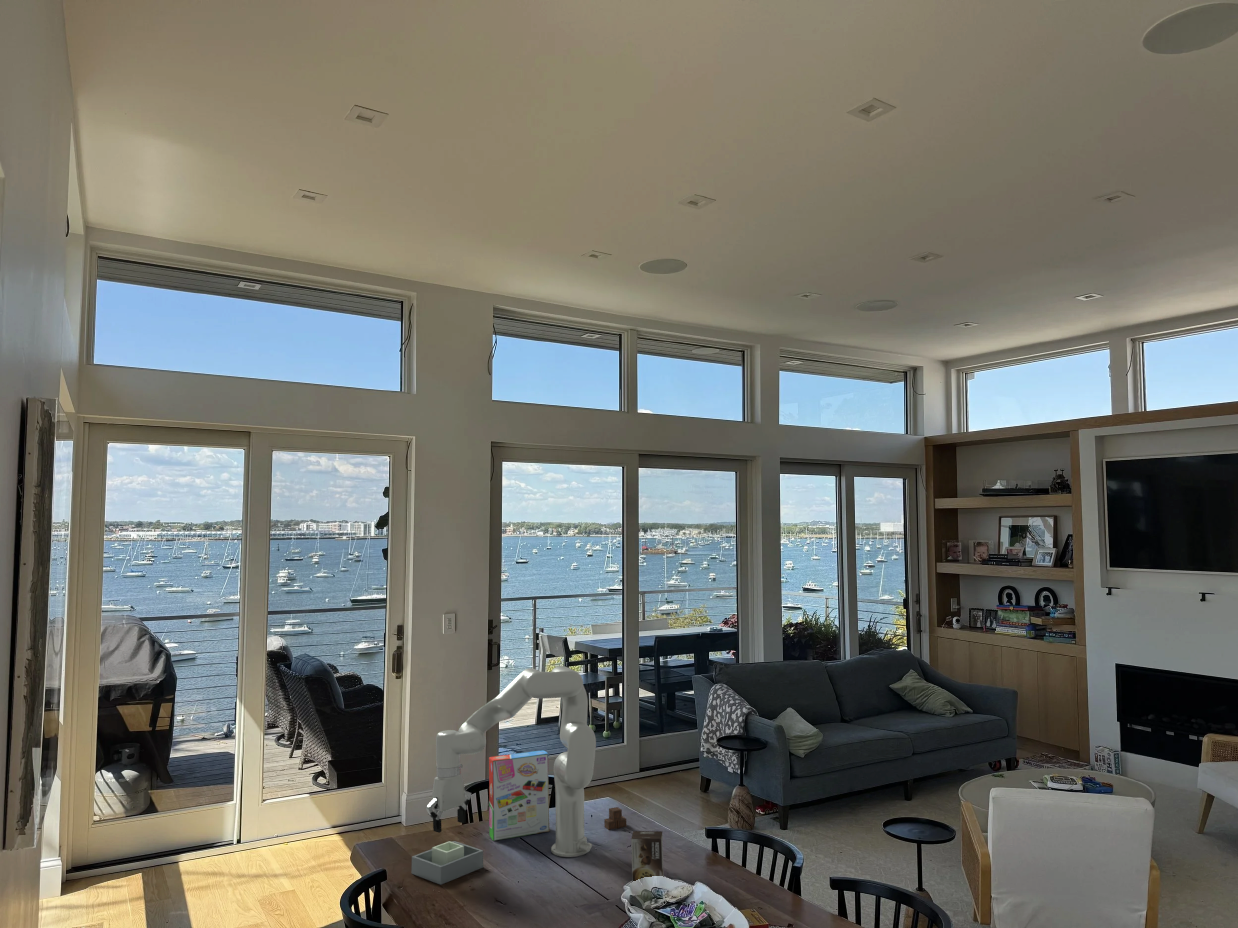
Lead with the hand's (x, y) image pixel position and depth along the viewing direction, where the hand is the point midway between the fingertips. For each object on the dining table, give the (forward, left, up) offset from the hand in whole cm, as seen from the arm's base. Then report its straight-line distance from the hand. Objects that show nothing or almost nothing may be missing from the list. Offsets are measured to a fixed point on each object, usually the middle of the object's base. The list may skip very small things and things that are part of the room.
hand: (449, 826), depth 264 cm
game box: (+6, -36, -13) cm, 39 cm away
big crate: (0, 0, -13) cm, 13 cm away
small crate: (0, 0, -12) cm, 12 cm away
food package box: (-59, -25, -13) cm, 66 cm away
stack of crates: (-18, -62, -14) cm, 66 cm away
